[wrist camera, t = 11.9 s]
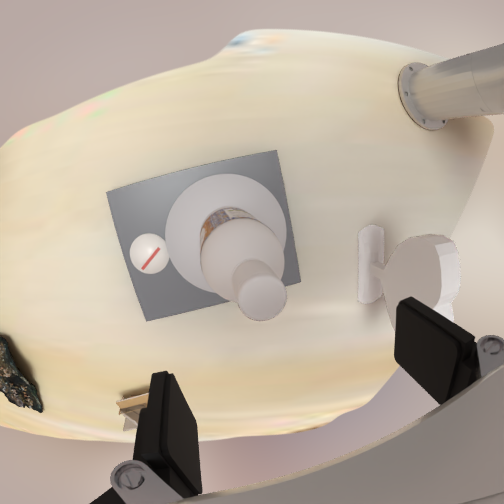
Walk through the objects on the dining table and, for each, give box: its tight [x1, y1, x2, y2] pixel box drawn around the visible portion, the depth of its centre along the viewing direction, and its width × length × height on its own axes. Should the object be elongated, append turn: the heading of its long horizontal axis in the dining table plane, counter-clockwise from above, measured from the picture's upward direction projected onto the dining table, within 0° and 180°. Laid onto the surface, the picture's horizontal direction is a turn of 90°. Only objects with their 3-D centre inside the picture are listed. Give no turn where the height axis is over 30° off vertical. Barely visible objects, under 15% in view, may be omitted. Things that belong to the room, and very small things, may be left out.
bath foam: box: [200, 206, 287, 321], centre depth 26 cm, size 7×7×20 cm
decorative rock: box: [0, 337, 43, 413], centre depth 36 cm, size 19×6×15 cm
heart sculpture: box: [358, 224, 461, 330], centre depth 36 cm, size 16×5×18 cm, turn 6°
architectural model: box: [116, 393, 149, 431], centre depth 40 cm, size 3×7×7 cm, turn 110°
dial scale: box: [106, 150, 301, 321], centre depth 37 cm, size 22×18×4 cm
